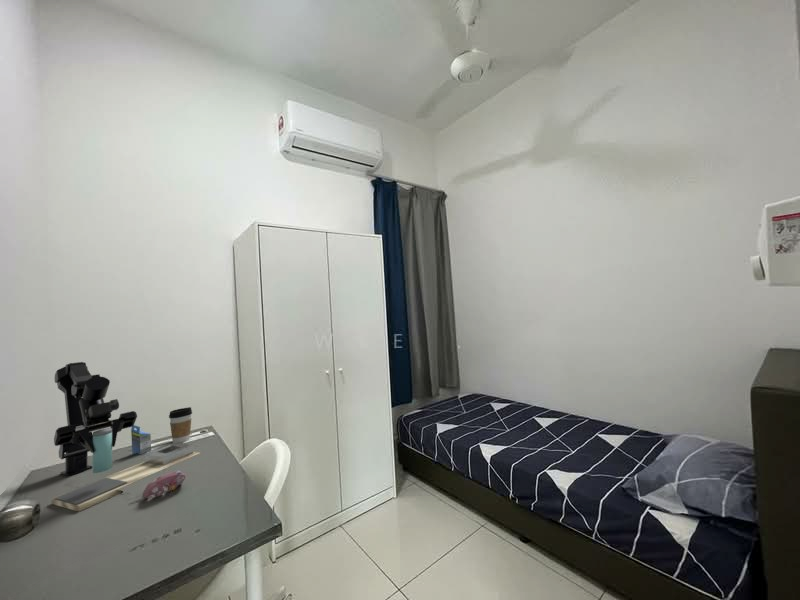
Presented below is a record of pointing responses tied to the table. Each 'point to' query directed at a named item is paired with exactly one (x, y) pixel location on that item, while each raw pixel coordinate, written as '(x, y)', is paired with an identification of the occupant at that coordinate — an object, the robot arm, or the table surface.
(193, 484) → the table surface
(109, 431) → the teal dowel
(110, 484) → the dark gray rubber pad
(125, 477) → the birch board
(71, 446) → the robot arm
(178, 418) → the coffee cup
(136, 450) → the label tape box
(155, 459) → the square metal frame plate
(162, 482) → the video game controller
